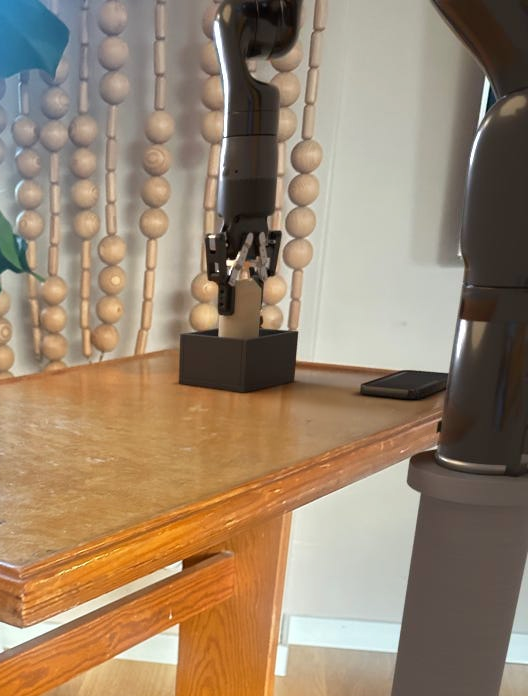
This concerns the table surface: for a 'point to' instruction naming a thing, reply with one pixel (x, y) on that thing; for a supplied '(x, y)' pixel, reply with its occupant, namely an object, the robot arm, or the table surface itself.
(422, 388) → the phone
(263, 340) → the bin
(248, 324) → the candle
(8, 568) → the table surface
